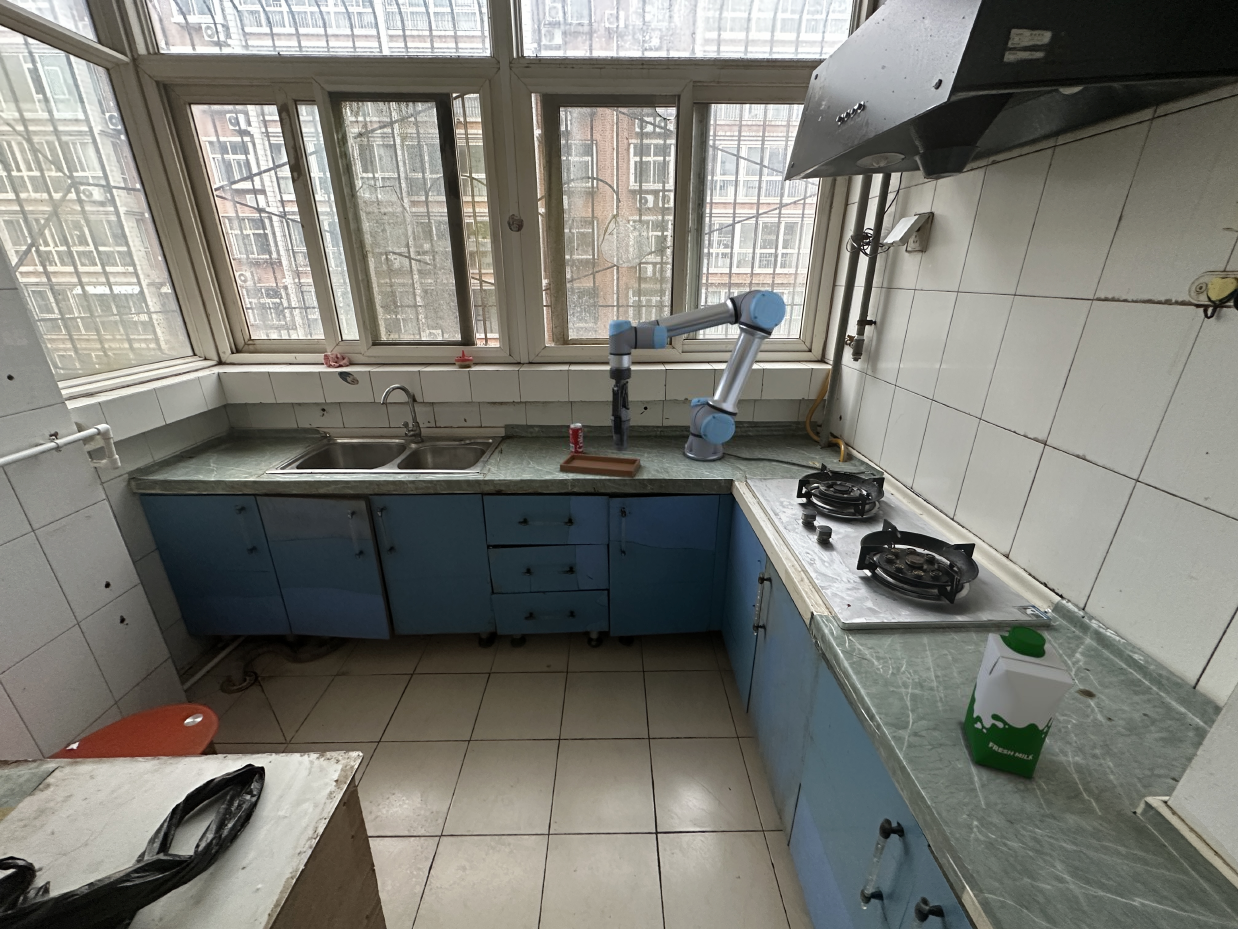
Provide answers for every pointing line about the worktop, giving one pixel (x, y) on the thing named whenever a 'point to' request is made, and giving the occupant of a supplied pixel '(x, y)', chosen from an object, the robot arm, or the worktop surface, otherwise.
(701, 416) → the robot arm
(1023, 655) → the milk carton
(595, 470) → the tray
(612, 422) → the beverage cup
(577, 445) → the soda can
